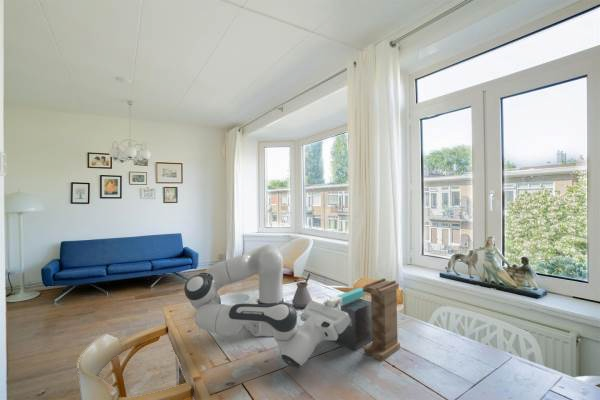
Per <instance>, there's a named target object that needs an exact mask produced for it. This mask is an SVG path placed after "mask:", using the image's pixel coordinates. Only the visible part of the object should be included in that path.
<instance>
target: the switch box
mask: <svg viewBox="0 0 600 400" xmlns="http://www.w3.org/2000/svg"><path fill="white" fill-rule="evenodd" d="M341 311H344V312H347V313H348V315H349V317H350V323H349V325H348V326H347V327H346V329H345V330H344V331H343V332H342V333H341V334H338V339H337V340H335V341H334V340H331V341H332V342H335V343H337V344H339V345H341V346H343V347H345V348H347V349H350V350H352V351H355V352H357V351H359V350H360V349H362V348H365V347H366V346H368V345H369V344H371V343H372V312H371V300H367V299H363V298H359V299H356V300H354V301H352V302H349V303H347V304H344V305H342V306H341Z"/></svg>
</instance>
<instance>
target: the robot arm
mask: <svg viewBox="0 0 600 400" xmlns="http://www.w3.org/2000/svg"><path fill="white" fill-rule="evenodd" d="M256 274H257V275H258V299H256V302H255V303H250V304H236V305H224V304H221V299H220V296H221V295H219V293H218V291H219V290H220V289H221V288H222V287H224V286H228V285H232V284H234V283H238V282H241V281H244V280H246V279H247V280H248V279H250V278H251V277H252V276H255V275H256ZM283 277H284V257H283V254H282V252H281V251H280V250H279V248H278V247H277V246H276V245H273V244H266V245H263V246H261V247H258V248H255V249H253V250H251V251H248V252H245V253H243V254H240V255H238V256H234V257H231V258H228V259H225V260H222V261H219V262H216V263H214V264H213V265H211V266H209V267H208V268H206V269H205V271H204V272H200V273H198V274H196V275H193V276H192V277H190V278H189V279H188V280H187V281H186V282H185V284H184V286H183V289H184V294H185V297H186V298H187V300H188V302H189V303H190V304H191V306H192V307H193V308H194V309H195V310H196V314H195V318H194V323H195V325H196V327H197V328H199V329H201V330H202V331H205V332H207V333H208V332H209V333H211V334H216V335H220V336H227V337H228V336H235V335H237V334H238V333H239V332H240V331H241V330H242V327H243V325H244V327H245V328H246V329H247V330H248V331H249V332H250V333H251V334H252V336H253V337H273V338H274V339H273V340H275V342H276V343H277V346H278V348H279V350H280V357H281V358H282V360H283V361H284V362H285V363H286V364H287V365H289V366H290V367H292V368H300V367H301V366H303V365H304V364H305V363H306V362H307V361H308V359H310V357H311V356H312V354H314V351H315V350H316V347H317V346H318V345H319V344H320V343H321V342H322V341H332V340H334V341H333V342H335V340H337V339H338V334H341V333H342V332H343V331H344V330H345V329H346V327H347V326H348V325H349V323H350V317H349V315H348V313H347V312H344V311H341V306H342V305H343V303H342V301H338V302H337V305H338V306H337V307H335V308H332V307H329V306H327V300H325V301H324V302H322V303H321V302H317V301H315V300H312V301H310V302H309V303H308V304H307V306H306V307H305V308H303V311H302V313H301V314H300V316H299V317H300V320H301V321H302V322H304V323H303V324H302V325H299V324H298V314H297V310H296V308H295V306H294V305H293V304H291V303H289V302H286V301H285V300H284V299H285V298H284V297H283V295H284V294H283Z"/></svg>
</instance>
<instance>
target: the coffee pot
mask: <svg viewBox="0 0 600 400" xmlns="http://www.w3.org/2000/svg"><path fill="white" fill-rule="evenodd" d="M311 276H313V274H312V273H308V275H307V277H306V280H305V281H299V282H296V287H297V288H296V290H295V293H294V295H293V298H292V299H291V300H292V305H293V306H294V307H296V308H297V309H305V307H306V306H307V304H308V303H309V302H310V301H313V299H312V297H311V294H310V293H309V290H308V281H309V279H310V277H311Z"/></svg>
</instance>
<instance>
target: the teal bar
mask: <svg viewBox="0 0 600 400" xmlns="http://www.w3.org/2000/svg"><path fill="white" fill-rule="evenodd" d="M365 296H366V292H363V287H357V288H355V289H352V290H350V291H347V292H344V293H341V294H338V295H336V296H333V297H330V298H328V299H326V301H327V306H329V307H332V308H335V307H337V306H338V305H337V302H338V301H342V303H343V305H344V304H347V303H349V302H352V301H354V300H356V299H359V298H360V299H362V298H363V297H365Z"/></svg>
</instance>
